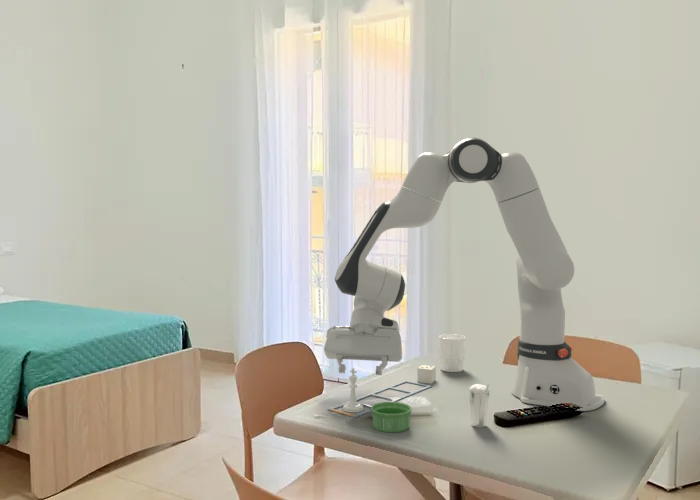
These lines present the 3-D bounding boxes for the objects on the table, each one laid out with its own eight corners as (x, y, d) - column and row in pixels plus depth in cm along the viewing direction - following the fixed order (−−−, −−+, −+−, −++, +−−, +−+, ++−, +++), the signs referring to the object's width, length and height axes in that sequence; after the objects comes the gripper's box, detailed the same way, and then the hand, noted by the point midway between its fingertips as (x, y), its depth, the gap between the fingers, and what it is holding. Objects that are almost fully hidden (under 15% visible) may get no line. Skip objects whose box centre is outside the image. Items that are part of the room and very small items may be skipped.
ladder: (431, 386, 176) (431, 385, 176) (356, 417, 151) (356, 416, 151) (405, 381, 182) (405, 380, 182) (328, 410, 156) (328, 408, 156)
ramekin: (419, 428, 144) (419, 409, 144) (387, 437, 139) (387, 416, 139) (394, 417, 151) (394, 399, 151) (363, 425, 146) (363, 406, 146)
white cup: (438, 372, 192) (438, 338, 191) (438, 365, 199) (439, 333, 199) (465, 373, 190) (465, 339, 190) (465, 366, 198) (465, 334, 197)
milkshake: (479, 431, 142) (480, 385, 142) (464, 423, 147) (464, 380, 146) (495, 427, 144) (496, 383, 144) (480, 420, 149) (481, 377, 148)
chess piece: (354, 413, 154) (354, 372, 153) (338, 409, 157) (338, 368, 156) (367, 408, 158) (367, 367, 157) (351, 404, 161) (351, 364, 160)
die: (435, 380, 183) (435, 366, 183) (431, 384, 180) (431, 369, 179) (421, 378, 185) (422, 364, 185) (417, 382, 181) (417, 368, 181)
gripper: (326, 319, 173) (317, 364, 164) (403, 321, 169) (398, 368, 160) (330, 332, 177) (321, 377, 169) (405, 335, 174) (400, 381, 165)
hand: (360, 373), depth 164 cm, fingers open, 8 cm apart
